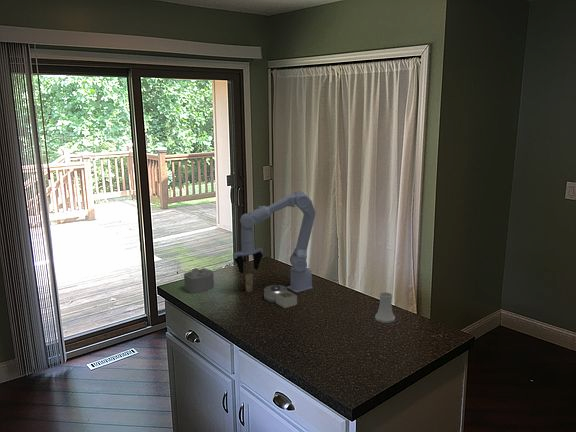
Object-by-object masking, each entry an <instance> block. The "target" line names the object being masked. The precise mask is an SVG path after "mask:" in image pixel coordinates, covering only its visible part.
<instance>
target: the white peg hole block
mask: <svg viewBox="0 0 576 432" xmlns="http://www.w3.org/2000/svg"><path fill="white" fill-rule="evenodd" d="M263 296H264V298H263V299H264V300H265V301H266V302H268V303H275V304H276V305H278V306H280V307H281V308H283V309H288V308H289V307H293V306H297V305H298V295H297V294H295V293H294V292H291V291H290V290H288V288H287V286H285V285H281V284H275V285H274V284H272V285H268V286H266V287H264V289H263Z"/></svg>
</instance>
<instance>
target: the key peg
mask: <svg viewBox="0 0 576 432" xmlns="http://www.w3.org/2000/svg"><path fill="white" fill-rule="evenodd" d="M244 277H245V293H252V292H253V291H254V281H253V280H254V278H253V277H254V276H253V273H251V272H250V273H246V274H245V275H244Z"/></svg>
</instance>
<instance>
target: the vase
mask: <svg viewBox="0 0 576 432" xmlns="http://www.w3.org/2000/svg"><path fill="white" fill-rule="evenodd" d="M392 300H393V294H392V293H391V292H380V293H379V306H378V310H377V313H376V314H375V316H374V319H375V320H376V321H377V322H379V323H383V324H389V323H390V324H391V323H393V322H395V321H396V316H395V314H394V312H393V307H392V306H393V305H392Z"/></svg>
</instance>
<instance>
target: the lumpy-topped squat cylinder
mask: <svg viewBox="0 0 576 432" xmlns="http://www.w3.org/2000/svg"><path fill="white" fill-rule="evenodd" d="M214 280H215V279H214V270H211V269H207V268H200V269H199V268H193V269H192V270H190V271H188V272H185V273H184V274H183V282H184V284H183V285H184V290H185V291H187V292H188V293H190V294H193V295H194V294H200V293H205V292H208V291H209V290H212V289H213V288H215V284H214V283H215V282H214Z"/></svg>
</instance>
